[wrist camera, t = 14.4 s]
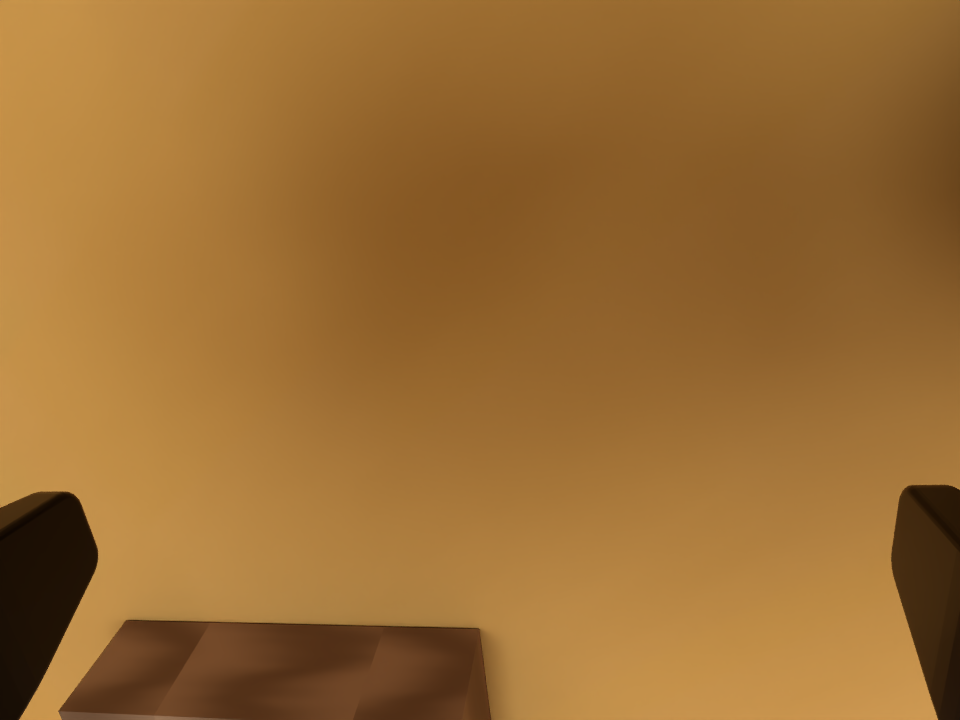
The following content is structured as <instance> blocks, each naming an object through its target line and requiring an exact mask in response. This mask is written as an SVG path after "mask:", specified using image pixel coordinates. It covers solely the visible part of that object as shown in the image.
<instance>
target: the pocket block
mask: <svg viewBox="0 0 960 720" xmlns="http://www.w3.org/2000/svg"><path fill="white" fill-rule="evenodd" d="M58 712H59V714H60V716H61V718H62V720H491V717H490V709H489V702H488V694H487V686H486V679H485V671H484V663H483V655H482V648H481V640H480V632H479V629H457V628H416V627H374V626H332V625H290V624H248V623H206V622H165V621H125V623H124V624H123V625H122V627H121V628H120V629H119V631H118V632H117V633H116V635H115V636H114V637H113V639H112V640H111V641H110V643H109V644H108V645H107V647H106V648H105V649H104V651H103V652H102V654H101V655H100V656H99V658H98V659H97V660H96V662H95V663H94V664H93V666H92V667H91V668H90V670H89V671H88V672H87V674H86V675H85V676H84V678H83V679H82V680H81V682H80V683H79V684H78V686H77V687H76V688H75V690H74V691H73V692H72V694H71V695H70V696H69V698H68V699H67V700H66V702H65V703H64V704H63V706H62V707H61V708H60V710H59V711H58Z"/></svg>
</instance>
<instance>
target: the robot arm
mask: <svg viewBox="0 0 960 720" xmlns="http://www.w3.org/2000/svg"><path fill="white" fill-rule="evenodd" d="M97 562H98V549H97V545H96V543H95V540H94V537H93V534H92V532H91V529H90V526H89V524H88V521H87V518H86V516H85V513H84V510H83V508H82V505H81V503H80V501H79V499H78V498H77V497H76V496H75V495H74V494H72V493H70V492H37V493H33V494H31V495H28V496H26V497H24V498H22V499H19V500H17V501H15V502H12V503H10V504H8V505H6V506H3V507H1V508H0V720H19V719H20V717H21V716H22V714H23V712H24V711H25V709H26V707H27V706H28V704H29V702H30V700H31V699H32V697H33V695H34V693H35V692H36V690H37V688H38V686H39V685H40V683H41V681H42V679H43V677H44V675H45V673H46V671H47V669H48V667H49V665H50V663H51V661H52V659H53V657H54V655H55V653H56V651H57V648H58V646H59V644H60V642H61V640H62V638H63V636H64V634H65V632H66V630H67V628H68V626H69V624H70V622H71V620H72V618H73V615H74V613H75V611H76V609H77V607H78V605H79V603H80V601H81V599H82V597H83V595H84V593H85V591H86V589H87V587H88V585H89V582H90V580H91V578H92V576H93V574H94V572H95V570H96V566H97ZM891 562H892V571H893V576H894V580H895V583H896V586H897V590H898V593H899V596H900V599H901V603H902V606H903V609H904V612H905V616H906V619H907V622H908V625H909V629H910V632H911V635H912V638H913V642H914V645H915V648H916V651H917V655H918V658H919V661H920V664H921V668H922V671H923V674H924V677H925V681H926V684H927V687H928V690H929V694H930V697H931V700H932V703H933V706H934V709H935V712H936V715H937V718H938V720H960V490H959V489H957V488H955V487H953V486H949V485H910V486H908V487H906V488H905V489H904V490H903V491H902V493H901V496H900V499H899V504H898V511H897V518H896V525H895V532H894V539H893V546H892V554H891Z"/></svg>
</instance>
